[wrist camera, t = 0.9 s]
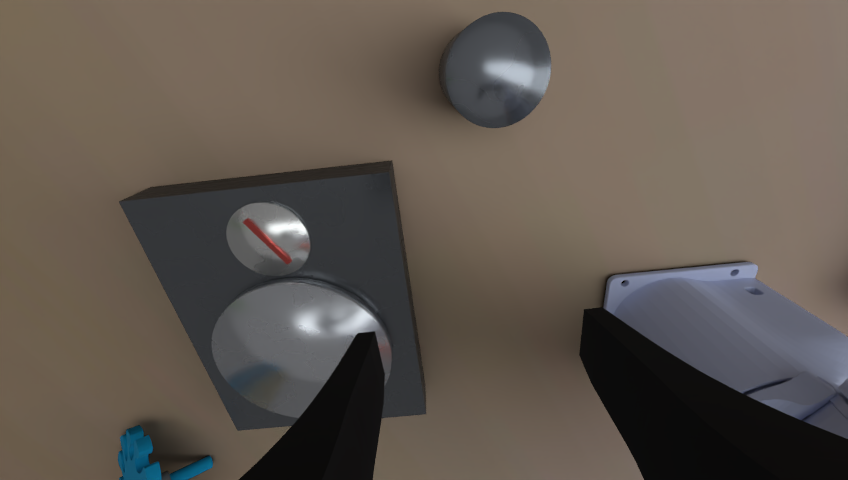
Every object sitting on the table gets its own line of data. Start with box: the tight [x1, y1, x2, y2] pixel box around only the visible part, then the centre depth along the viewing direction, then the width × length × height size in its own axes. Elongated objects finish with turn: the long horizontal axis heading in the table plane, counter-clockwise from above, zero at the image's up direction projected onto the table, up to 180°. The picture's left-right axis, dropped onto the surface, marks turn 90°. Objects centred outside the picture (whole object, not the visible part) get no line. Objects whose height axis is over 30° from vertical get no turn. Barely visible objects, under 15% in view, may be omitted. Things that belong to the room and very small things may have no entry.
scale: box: [119, 161, 426, 430], centre depth 23 cm, size 14×18×3 cm
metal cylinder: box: [439, 12, 551, 128], centre depth 16 cm, size 4×4×5 cm
